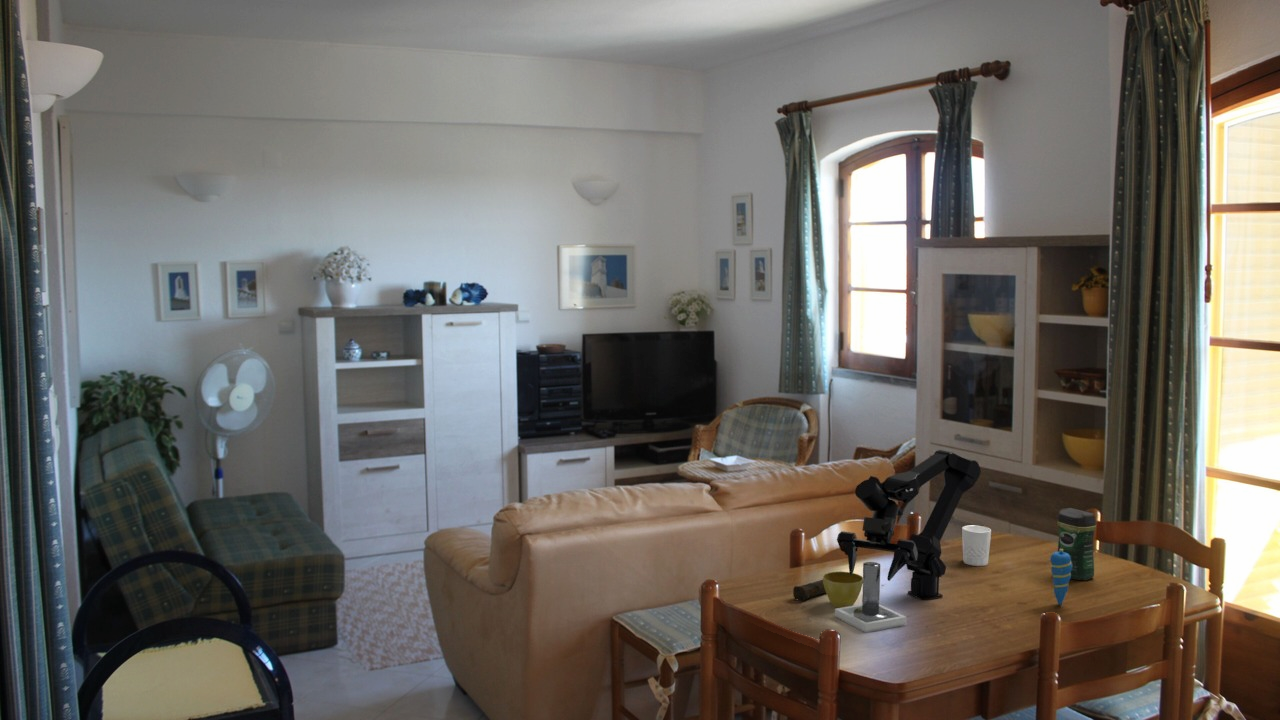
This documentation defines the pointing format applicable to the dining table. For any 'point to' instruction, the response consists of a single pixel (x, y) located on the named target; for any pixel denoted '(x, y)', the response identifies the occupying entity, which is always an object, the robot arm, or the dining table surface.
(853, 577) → the flower pot
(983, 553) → the white cup
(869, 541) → the robot arm
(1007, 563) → the dining table surface
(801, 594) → the hand tool
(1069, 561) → the ornament
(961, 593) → the dining table surface
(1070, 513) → the coffee jar
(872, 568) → the steel stop
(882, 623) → the tray
